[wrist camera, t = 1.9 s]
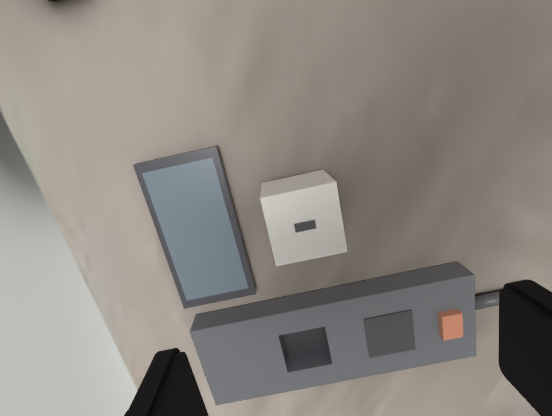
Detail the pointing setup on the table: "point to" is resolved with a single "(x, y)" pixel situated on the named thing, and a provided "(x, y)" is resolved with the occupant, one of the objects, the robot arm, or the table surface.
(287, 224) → the charger plug
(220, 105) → the table surface
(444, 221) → the table surface
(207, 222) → the phone
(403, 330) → the power strip
